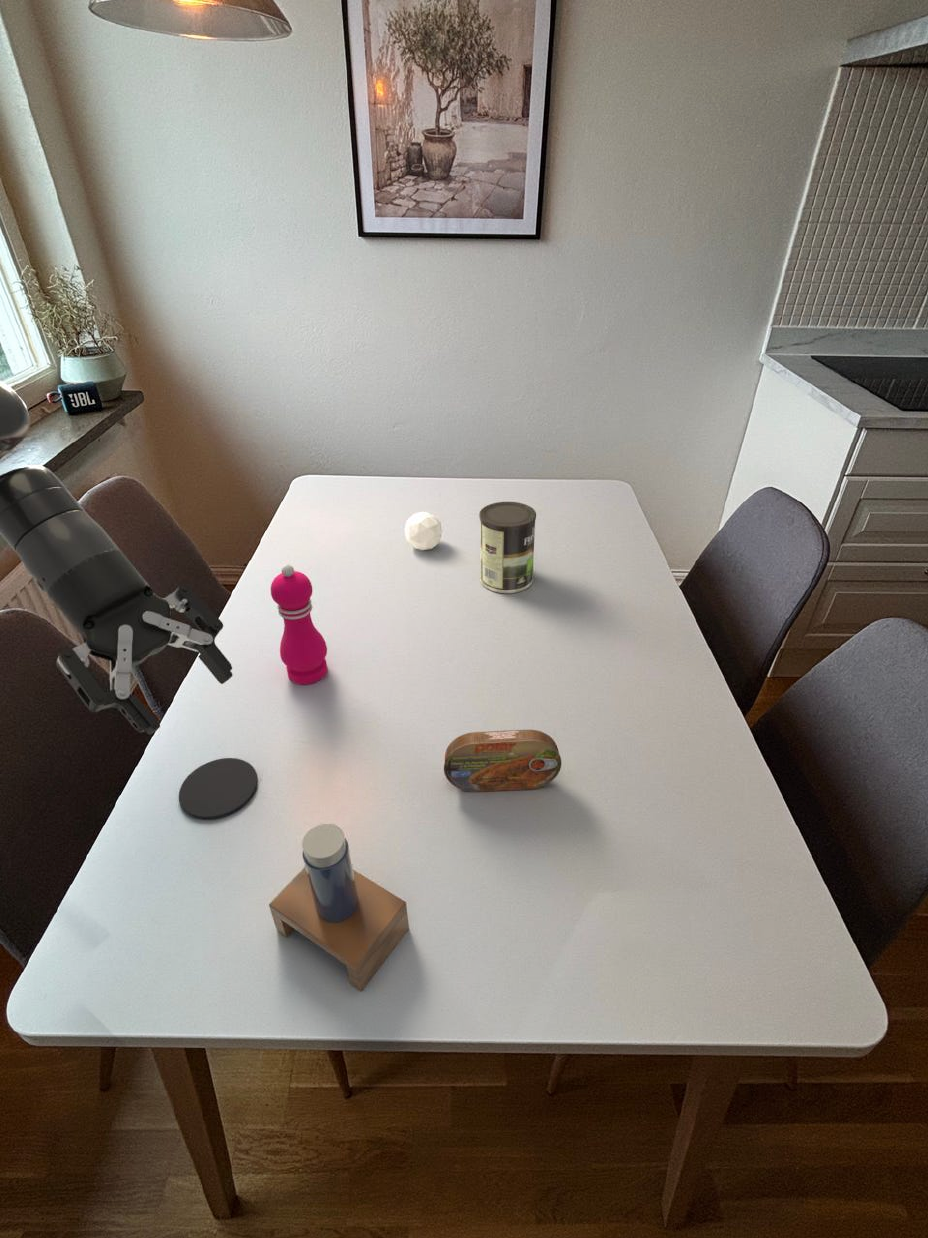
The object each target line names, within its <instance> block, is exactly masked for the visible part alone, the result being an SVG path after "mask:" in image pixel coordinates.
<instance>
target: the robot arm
mask: <svg viewBox="0 0 928 1238" xmlns="http://www.w3.org/2000/svg"><path fill="white" fill-rule="evenodd" d="M30 428H31V417H30V413H29V409H28V407H27V405H26V404H25V402H24V400H23V399H22V398H21V397H20V395H18V393H17V392H16V391H15V390H14V389H12V387H10V386H9V385H7V384H6V383H4V382H2V381H0V460H1V459H2V458H4V457H5V456H6V455H8V454H9V453H10V452H11V451H12V450H13V449H15V448H16V446H18V445H19V444H21V443H22V442H23V441H24V439H25V438H26V437H27V435H28V434H29V431H30ZM0 535H1V537H2V538H3V539H4V540H5V542H6V543H7V544H8V546H10V548H11V549H12V550H13V551H14V552H15V553H16V555H17V556H18V558H19V559H20V560H21V563H22V564H23V566H24V567H25V569H26V571H27V572H28V573H29V575H30V576H31V578H32V579H33V580H34V581H35V583H36V586H37V587H38V588H39V589H40V591H42V592H43V593H45V595H46V596H47V597H48V598H49V600H51V601H52V603H53V604H54V605H55V606H56V608H57V609H58V610H59V612H61V614H63V616H64V617H65V618H66V620H67V621H68V622H69V623H70V624H71V626H72V627H73V628H74V629H75V631H76V632H77V633H78V634H79V635H80V636H81V638H82V641H83V643H81V644H79V645H77V646H75V647H73V648H70V647H65V648H63V649H62V650H60V652H59V654H58V657H57V658H56V661H55V665H56V667H57V668H58V670H59V671H60V672H61V673H62V675H63V676H64V678H65V679H66V681H67V682H68V683H69V684H70V686H71V687H72V688H73V690H74V692H76V694H77V696H78V697H79V698H80V700H81V701H82V702H83V703H84V704H85V706H86V708H87V709H88V710H89V712H91V713H99V712H100V711H101V710H105V709H109V708H113V709H116V710H118V711H119V712H120V713H121V714H122V716H123V717H124V718H125V719H126V720H127V721H128V723H129V724H130V726H132V727H133V729H134V730H135V731H137V732H138V733H140V734H142V733H144V732H145V733H146V734H147V735H149V736H151V735H152V734H154V733H155V732H156V731H158V729H160V728H161V724H160V722H159V721H158V719H156V717H155V716H154V715H153V713H151V712H150V710H149V709H148V708H147V706H146V705H145V703H144V702H142V701H141V699H140V698H139V697H138V696H137V695H136V694H133V695H132V694H131V675H132V669H133V666H135V667H138V666H139V665H141V664H143V663H144V662H145V661H146V660H147V658H148V657H151V656H154V655H157V654H159V653H160V652H162V651H164V650H165V648H166V647H167V646H170V647H173V648H177V649H179V648H180V649H181V648H183V649H186V650H190V651H193V652H196V653H199V655H198V657H197V658H199V660H200V661H201V662H202V663H203V665H204V667H206V668H207V670H209V672H210V673H211V674H212V676H213V677H214V678H215V679H216V681H217V682H218V683H219V684H220V685H223V684H225V683H226V682H227V681H229V680H230V679H231V678H232V677H233V676H234V675H233V672H232V670H233V666H232V663H231V662H230V661H229V659H228V658H227V657H226V656H225V655H224V653H223V652H222V651H221V649H220V648H219V647H218V645H217V644H216V643H215V640H216V637H217V636H218V635H219V633H220V632H221V631H222V629H223V628H224V623H223V621H222V620H221V619H220V618H219V617H218V616H217V615H216V614H215V613H214V612H213V611H212V609H211V608H210V607H209V605H207V604H206V602H204V600H203V599H202V598H201V597H200V596H199V595H198V594H197V593H196V592H195V590H194V589H193V588H192V587H191V586H190V585H189V584H187V583H181V584H179V586H178V587H177V588H176V590H175V591H173V592H172V593H170V594H168V595H167V596H165V597H164V598H163V597H161V596H158V595H157V594H156V593H155V592H154V591H153V589H152V588H151V586H150V585H149V584H148V582H147V581H146V579H145V578H144V577H143V576H142V575H141V573H140V571H138V570H137V569H136V567H135V566H134V564H133V563H131V561H130V560H129V558H127V556H126V555H125V554H124V552H123V551H122V550H121V549H120V548H119V547H118V545H117V544H116V543H115V542H114V540H113V539H112V538H111V537H110V535H109V534H108V533H107V532H106V531H105V529H104V528H103V527H102V526H101V525H100V524H99V523H98V522H97V521H95V519H94V518H92V517H91V516H90V514H88V512H87V511H86V510H85V509H84V508H83V506H82V505H81V504H80V503H79V502H78V500H77V499H76V498H75V497H74V496H73V494H72V493H71V491H70V490H69V489H68V488H67V487H66V485H65V484H64V483H63V482H62V481H61V480H60V478H59V477H58V476H57V475H56V474H55V473H54V472H53V471H51V469H49V468H47V467H45V466H43V465H38V464H37V465H36V464H29V465H24V466H20V467H16V468H14V469H11V470H9V471H7V472H5V473H2V474H0ZM171 609H173V610H175V611H176V612H178V613H183V614H185V615H186V617H187V618H188V619H189V620H190V621H191V622H192V623H193V624H194V626H195V627H196V628H197V629H196V628H193V627H192V626H191V625H189V624H186V623H184V622H181V621H178V620H175V619H172V618H171ZM89 655H91V656H94V657H96V658H99V659H103V660H105V661H109V683H110V685H109V686H110V687H109V688H110V689H109V690H107V691H105V690H103V688H102V687H101V685H100V684H99V682H98V681H97V680H96V679H95V677H94V675H93V674H92V672H91V671H90V670H89V669H88V667H89V665H90V663H91V662H90V659H89Z"/></svg>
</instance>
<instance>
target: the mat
mask: <svg viewBox="0 0 928 1238" xmlns="http://www.w3.org/2000/svg"><path fill="white" fill-rule="evenodd" d="M258 786H259V778H258V773H257V771H256V768H255V767H254V766H253V765H252V764H250V763H249V762H248V761H247V760H243V759H240V758H236V757H225V758H224V757H223V758H218V759H215V760H211V761H208V762H206V763H204V764H202V765H200V766H199V767H197V768H196V769H194V770H193V771H192V772H191V773H190V774H188V775H187V777H185V779H184V780H183V781H182V784H181V785H180V788H179V792H178V801H179V805H180V806H181V809H182V810H183V811H184V812H185V814H187V815H189V816H190V817H192V818H193V819H197V820H203V821H211V820H218V819H222V818H226V817H228V816H231V815H232V814H234V813H237V812H239V810H241V809H243V808H244V807H245V806H246V805H248V803H250V801H251V800H252V799H253V797H254V796H255V794H256V792H257V789H258Z"/></svg>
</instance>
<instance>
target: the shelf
mask: <svg viewBox="0 0 928 1238" xmlns="http://www.w3.org/2000/svg"><path fill="white" fill-rule="evenodd" d="M353 873H354V878H355V883H356V889H357V894H358V906H357V908H356V910H355V912H354V913H353V914H352V915H351V916H350V917H349V918H348V919H346V920H344V921H342V922H337V923H330V922H327V921H324V920H323V919H321V918H320V917H319V915H318V914H317V911H316V907H315V903H314V899H313V895H312V891H311V888H310V884H309V880H308V876H307V872H306V868H305V866H303V868H302V869H301V870H300V871H299V872H298V873H297V874H296V875H295V876H294V877H293V879H291V881H289V883H288V884H287V885H286V886H285V887H284V888H283V889H282V890H281V891H280V892H279V893H278V894H277V895H276V896H275V897H274V898H273V899H272V900H271V902H269V903H268V908H269V910H270V913H271V917H272V919H273V923H274V926H275V929H276V931H277V932H278V933H279V934H281V935H282V936H283V937H285V938H288V937H289V936H290V935H291V933H292V932H293V931H294V930H295V931H296V932H299V933H300V934H301V935H302V936H304V937H305V938H307V939H308V940H309V941H311V942H312V943H313V944H315V945H317V946H318V947H319V948H321V949H322V950H324V951H325V952H326V953H328V954H329V955H331V956H332V957H333V958H335V959H336V960H338V961H339V962H341V963H342V964H343V965H344V966H346V970H347V973H348V978H349V982H350V985H352V986H353V987H354V988H356V989H357V990H359V992H363V991H364V989H365V988H366V987H367V985H368V983H370V981H371V980H372V978H373V977H374V976H375V974H376V973H377V972H378V971H379V969H380V968H381V966H382V965H383V964H384V962H385V961H386V960H387V958H388V957H389V956H390V954H391V953H392V952H393V951H394V949H395V948H396V947H397V945H398V944H399V942H400V941H401V940H402V939H403V937H404V936H405V935H406V934H407V932H408V931H409V929H410V924H409V917H408V907H407V901H405V900H403V899H402V898H400V897H398V896H397V895H395V894H394V893H392V892H390V891H389V890H388V889H385V888H384V887H382V886H381V885H379V884H377V883H376V882H374V881H373V880H371V879H369V878H368V877H367V876H364V875H363V874H362V873H360V872H358V871H357V870H355V869H353Z"/></svg>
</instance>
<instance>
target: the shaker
mask: <svg viewBox="0 0 928 1238" xmlns="http://www.w3.org/2000/svg"><path fill="white" fill-rule="evenodd" d="M301 846H302V860H303V863H304V867H305V868H306V872H307V876H308V880H309V884H310V888H311V891H312V895H313V899H314V903H315V907H316V911H317V914H318V915H319V917H320V918H321V919H323V920H324V921H327V922H330V923H337V922H342V921H344V920H346V919H348V918H349V917H350V916H351V915H352V914H353V913H354V912H355V910H356V908H357V906H358V894H357V889H356V883H355V878H354V873H353V870H354V868H353V863H352V857H351V851H350V847H349V843H348V840H347V838H346V837H345V833H344V831H343V829H342V828H341V827H340V826H339V825H337V824H335V823H331V822H325V823H319V824H317V825H314V826H312V827H311V828H309V830H307V832H306V833H305V834H304V836H303V838H302V841H301Z"/></svg>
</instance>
